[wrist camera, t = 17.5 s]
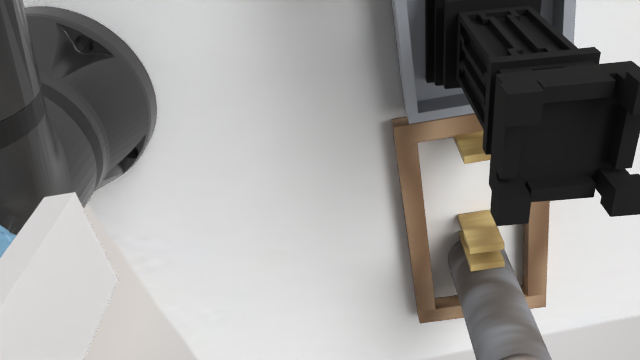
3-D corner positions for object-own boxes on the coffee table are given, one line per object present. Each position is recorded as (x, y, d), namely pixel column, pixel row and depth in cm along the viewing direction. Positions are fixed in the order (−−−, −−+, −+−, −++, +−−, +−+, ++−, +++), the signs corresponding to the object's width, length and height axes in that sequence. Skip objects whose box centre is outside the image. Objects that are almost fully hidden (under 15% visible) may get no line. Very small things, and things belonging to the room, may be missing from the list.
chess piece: (425, -24, 41) (498, 86, 24) (536, -35, 41) (689, 68, 24) (425, 79, 45) (488, 232, 29) (526, 69, 45) (650, 219, 28)
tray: (404, 107, 48) (409, 123, 45) (385, -48, 41) (390, -39, 38) (557, 81, 46) (570, 96, 44) (563, -83, 40) (580, -77, 37)
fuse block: (417, 312, 61) (443, 442, 48) (391, 119, 48) (416, 226, 36) (543, 296, 59) (604, 424, 47) (550, 92, 47) (635, 193, 34)
